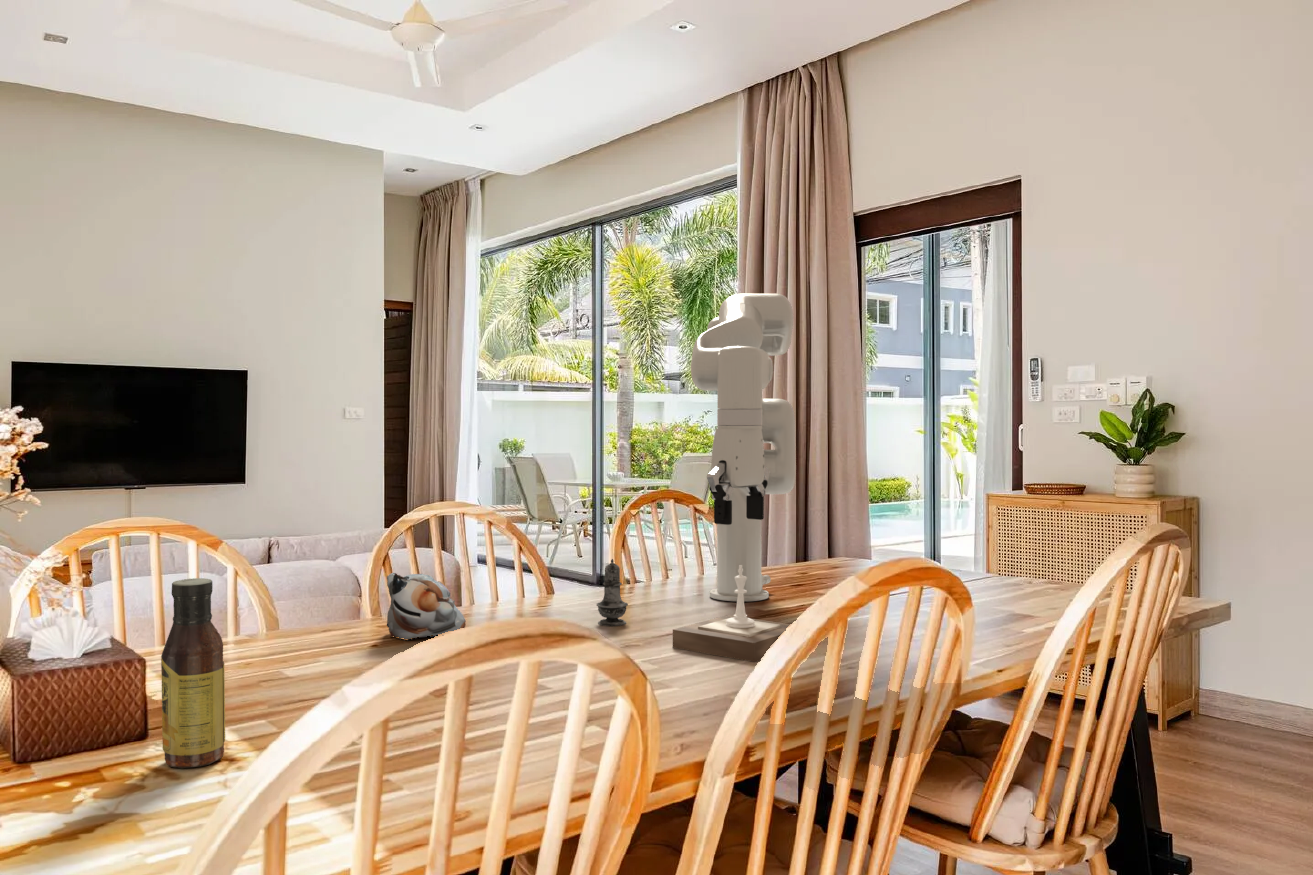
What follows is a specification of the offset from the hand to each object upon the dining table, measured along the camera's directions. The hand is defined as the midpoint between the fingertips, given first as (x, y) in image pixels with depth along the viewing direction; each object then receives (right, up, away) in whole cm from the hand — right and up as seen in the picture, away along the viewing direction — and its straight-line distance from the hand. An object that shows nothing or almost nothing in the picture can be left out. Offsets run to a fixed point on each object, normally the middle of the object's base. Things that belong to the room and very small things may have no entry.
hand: (739, 521), depth 168 cm
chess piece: (0, -17, -1) cm, 18 cm away
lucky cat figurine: (-54, -21, +5) cm, 58 cm away
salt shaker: (-22, -21, +17) cm, 35 cm away
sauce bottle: (-64, -21, -59) cm, 90 cm away
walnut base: (0, -21, -2) cm, 21 cm away
